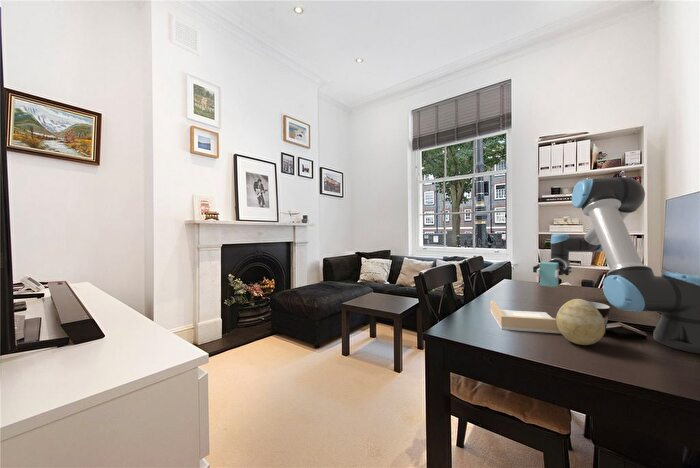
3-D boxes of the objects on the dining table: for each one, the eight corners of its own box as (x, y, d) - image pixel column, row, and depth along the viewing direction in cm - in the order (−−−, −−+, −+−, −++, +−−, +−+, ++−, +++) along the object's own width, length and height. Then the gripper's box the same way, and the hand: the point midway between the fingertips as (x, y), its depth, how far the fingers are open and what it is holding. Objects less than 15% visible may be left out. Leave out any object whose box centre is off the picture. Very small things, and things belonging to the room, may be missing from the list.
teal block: (558, 284, 128) (558, 262, 127) (555, 287, 124) (556, 264, 123) (542, 283, 132) (542, 261, 132) (539, 285, 128) (539, 263, 127)
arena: (568, 334, 103) (568, 320, 103) (501, 329, 109) (501, 316, 109) (545, 314, 124) (545, 303, 124) (490, 311, 130) (490, 300, 130)
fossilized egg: (573, 351, 90) (573, 305, 89) (547, 335, 102) (548, 294, 102) (615, 352, 89) (616, 304, 88) (585, 335, 101) (585, 294, 101)
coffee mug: (597, 327, 108) (597, 301, 108) (616, 336, 100) (616, 308, 99) (564, 327, 110) (564, 301, 109) (580, 336, 101) (580, 308, 101)
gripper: (580, 276, 134) (574, 284, 117) (533, 271, 147) (521, 279, 131) (580, 260, 134) (574, 266, 117) (533, 257, 147) (521, 263, 130)
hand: (546, 273), depth 124 cm, fingers closed on teal block, 6 cm apart
